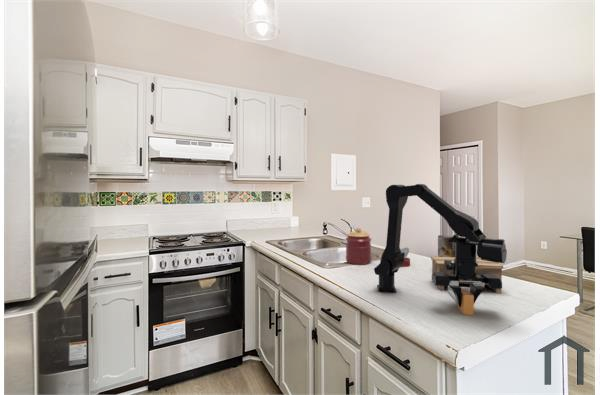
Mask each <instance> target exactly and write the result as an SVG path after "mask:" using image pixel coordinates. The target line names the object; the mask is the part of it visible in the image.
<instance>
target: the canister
mask: <svg viewBox="0 0 600 395" xmlns="http://www.w3.org/2000/svg"><path fill="white" fill-rule="evenodd" d="M370 235H371V234H370V233H368V232H367V231H363V230H362V228H360V227H356V230H352V231H350V232H349V233H347V237H346V238H345V241H346V244H345V250H346V251H345V253H346V254H345V260H346V263H348V264H351V263H354V264H353V265H361V266H362V265H369V264H371V262H372V245H371V241H372V238H371V237H370Z"/></svg>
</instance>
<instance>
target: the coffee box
mask: <svg viewBox="0 0 600 395" xmlns="http://www.w3.org/2000/svg"><path fill="white" fill-rule="evenodd" d="M452 237H453V235H440V234H438V236H437V257H455V253H456V243H454V242H449V241H448V240H449V239H451V238H452Z"/></svg>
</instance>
